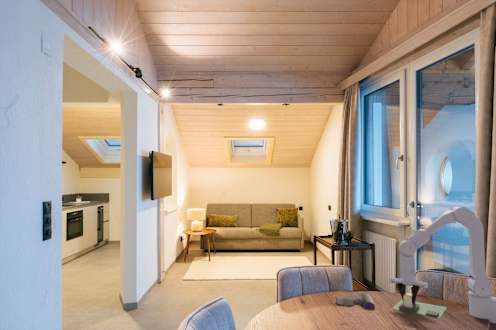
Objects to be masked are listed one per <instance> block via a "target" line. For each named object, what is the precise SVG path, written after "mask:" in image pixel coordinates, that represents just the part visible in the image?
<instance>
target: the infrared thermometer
mask: <svg viewBox="0 0 496 330" xmlns="http://www.w3.org/2000/svg"><path fill="white" fill-rule="evenodd" d="M335 301H336V304H337V305H338V304H344V305H343V306H355V305H358V304H359V305H360V306H361V307H362V308H364V309H367V310H368V309H370V310H376V306H375V303H374V300H373V298H372V296H371V295H370V294H369V293H365V292H364V293H360V294H353V295H341V296H336V300H335Z"/></svg>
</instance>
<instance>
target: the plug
mask: <svg viewBox="0 0 496 330" xmlns="http://www.w3.org/2000/svg"><path fill="white" fill-rule="evenodd" d="M404 307H409V308H414V305H413V304H412V293H407V292H406V294H405V295H404Z"/></svg>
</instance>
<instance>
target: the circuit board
mask: <svg viewBox="0 0 496 330" xmlns="http://www.w3.org/2000/svg"><path fill="white" fill-rule="evenodd" d="M402 303H403V300H402V299H401V300H399V301H398V302H397V303H396V304H395V305H394V306H392V307H391V309H393V310H397V311H402V310H399V306H400V305H401V304H402ZM415 304H419V309H418V310H417V311H416V313H415V314H417V315H422V316H426V317H427V316H428V317H432V318H438V319H441V317H442V316H443V315H444V313H445V312H446V310H447V308H448V307H447V306H443V305H436V304H431V303H426V302H425V303H424V302H420V301H415ZM402 312H403V311H402ZM405 312H408V311H405ZM408 313H409V312H408ZM410 313H411V314H414V313H413V312H410Z"/></svg>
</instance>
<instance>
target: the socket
mask: <svg viewBox="0 0 496 330" xmlns="http://www.w3.org/2000/svg"><path fill="white" fill-rule="evenodd" d="M418 309H419V304H414V308H409V307H404V303H402V304H401V305H400V306H399V310H398V311H401V310H402V312H406V311H408V313H411V312H413V313H412V314H416V311H417V310H418Z"/></svg>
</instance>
